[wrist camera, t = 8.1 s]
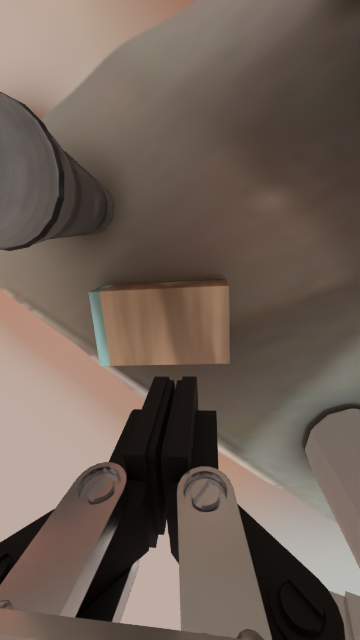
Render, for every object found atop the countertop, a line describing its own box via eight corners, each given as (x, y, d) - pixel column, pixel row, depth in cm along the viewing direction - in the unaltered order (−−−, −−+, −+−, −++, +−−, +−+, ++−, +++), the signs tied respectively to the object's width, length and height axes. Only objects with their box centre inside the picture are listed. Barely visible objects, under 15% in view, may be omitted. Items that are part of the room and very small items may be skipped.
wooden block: (229, 285, 21) (88, 292, 22) (229, 363, 23) (100, 365, 24) (225, 279, 25) (105, 285, 26) (225, 346, 27) (114, 349, 28)
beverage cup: (144, 215, 24) (-95, 94, 5) (87, 263, 25) (-258, 319, 6) (92, 144, 23) (-529, -424, 3) (36, 200, 24) (-589, 29, 5)
